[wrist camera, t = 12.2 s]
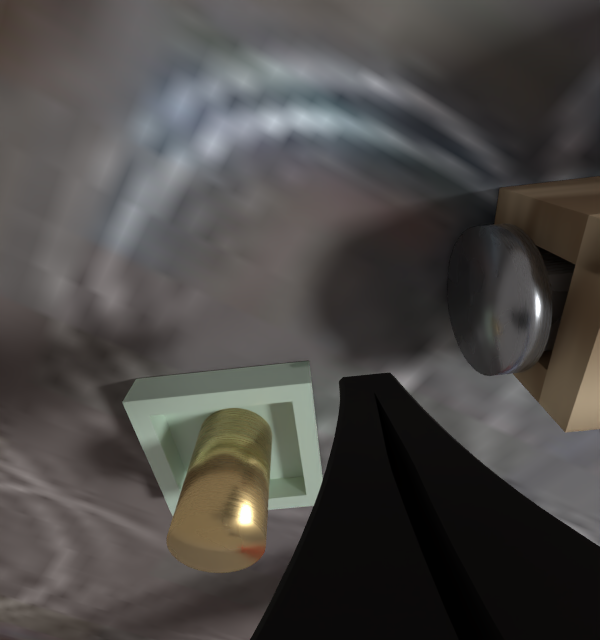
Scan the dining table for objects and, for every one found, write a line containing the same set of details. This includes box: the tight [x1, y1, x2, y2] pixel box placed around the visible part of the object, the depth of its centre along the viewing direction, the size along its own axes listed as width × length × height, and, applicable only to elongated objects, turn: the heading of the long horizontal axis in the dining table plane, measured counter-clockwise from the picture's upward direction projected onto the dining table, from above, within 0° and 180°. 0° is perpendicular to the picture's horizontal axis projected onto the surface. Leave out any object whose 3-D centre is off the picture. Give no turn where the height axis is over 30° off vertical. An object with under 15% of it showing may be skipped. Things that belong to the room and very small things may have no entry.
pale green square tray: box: [122, 361, 323, 516], centre depth 20 cm, size 9×9×2 cm
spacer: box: [167, 408, 272, 573], centre depth 18 cm, size 4×4×6 cm
